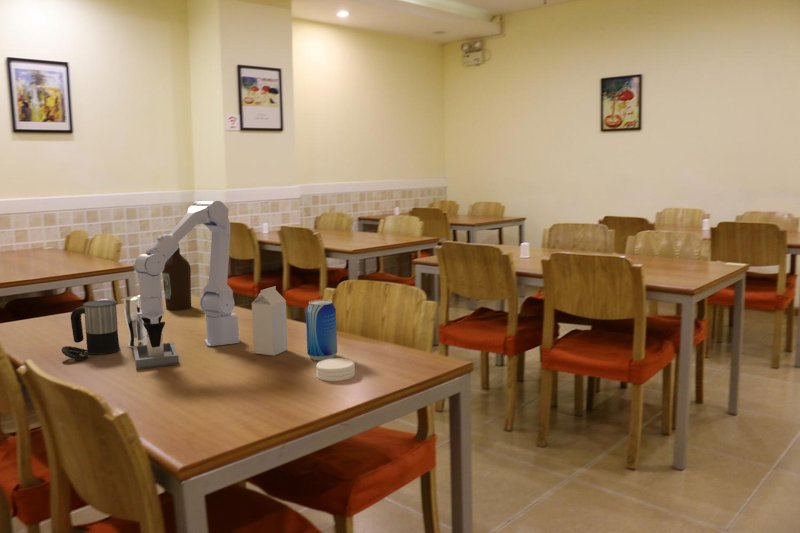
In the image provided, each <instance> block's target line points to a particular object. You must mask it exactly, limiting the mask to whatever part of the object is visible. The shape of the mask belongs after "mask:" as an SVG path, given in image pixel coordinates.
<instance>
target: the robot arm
mask: <svg viewBox="0 0 800 533" xmlns="http://www.w3.org/2000/svg"><path fill="white" fill-rule="evenodd" d="M229 211H230V210H229V208H228V207H227V205H226V204H225V203H224V202H222V201H221V200H202V199H201V200H200V199H199V200H196V201H195V202H193V203H192V205H190V206H189V207H188V208H187V211H186V213H185V214H184V216H182V218H181V219H180V221H179V222H177V224H176V225H175V226H174V228H173V229H172V230H171V231H170V232H169V234H167V233H166V234H162V235H158V236H157V237H156V241H155V242H154V243H153V244H152V245H151V246H150V248H146V250H145V253H142V254H141V253H140V254H139V255H138V256H137V257H136V259H135V261H134V264H133V266H132V267H133V269H134V271H135V272H136V273H137V276H138V277H137V278H138V284H139V296H140V298H141V311H142V312H139V313H137V316H143V317H141V318H142V320H143V322H144V323H143V325H144V327H145V329H146V330H147V332H148V335H149V339H150V343H151V346H152V347H160V342H161V334H163V331H164V330H163V329H164V327H165V325H166V322H165V321H161V320H162V318H163V315H164V314H165V311H164V306H163V305H164V304H163V291H162V276H161V274H162V272H163V270H164V267H165V263H166V261H167V260H168V259H169V258H170V257H171V256H172V255H173V254H174V252H175V251H176V250H177V249H178V248H180V244H179V243H180V241H182V239H184V238H185V236H187V235H188V234H189V233H190V232H191V231H192V230H193V229H194V228H195V227H197V225H204V226H206V227H207V228H208V229H209V231H210V232H211V240H210V242H211V243H210V256H209V257H210V259H209V274H208V275H209V276H208V283H207V284H206V286H204V287H203V289H202V290H203V292H202V295H201V297H200V299H199V306H200V308H201V310H203V312H204V315H205V323H206V326H205V327H206V338H205V339H204V342H205V344H206V345H207V347H215V346H222V345H223V346H224V345H232V344H240V338H239V337H240V336H239V335H240V333H239V317H238V314H237V313H236V312H233V311H234V309H235V299H234V291H233V289H232V288H231V287H230V286H229V284H228V277H229V261H230V260H229V259H230V246H231V245H230V244H231V243H230V242H231V232H232V231H231V230H232V228H231V227H232V226H231V223H230V220H229Z"/></svg>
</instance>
